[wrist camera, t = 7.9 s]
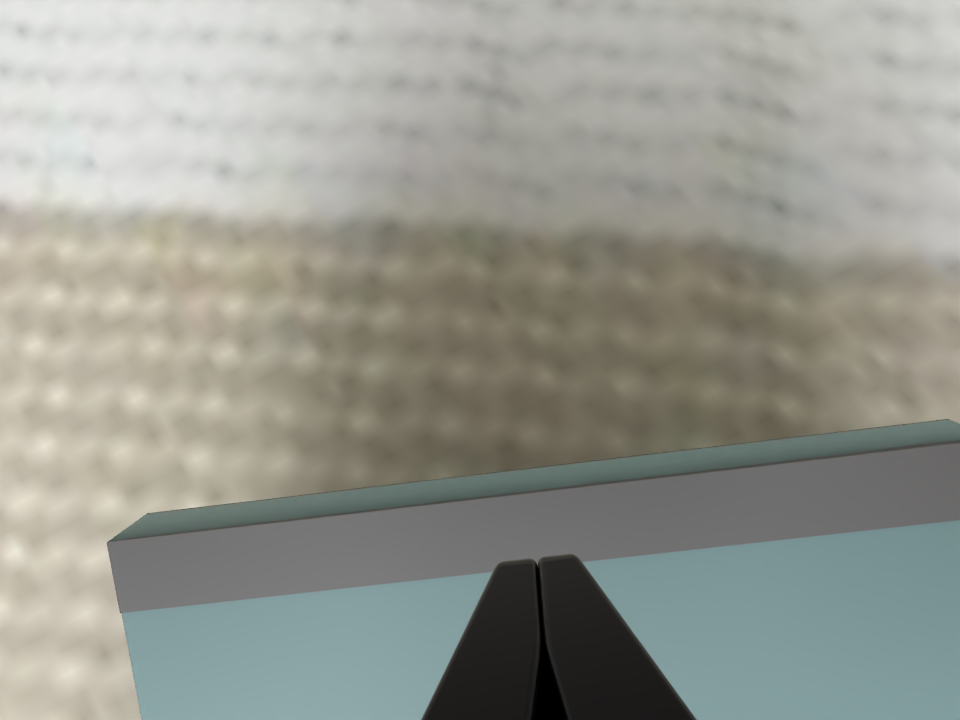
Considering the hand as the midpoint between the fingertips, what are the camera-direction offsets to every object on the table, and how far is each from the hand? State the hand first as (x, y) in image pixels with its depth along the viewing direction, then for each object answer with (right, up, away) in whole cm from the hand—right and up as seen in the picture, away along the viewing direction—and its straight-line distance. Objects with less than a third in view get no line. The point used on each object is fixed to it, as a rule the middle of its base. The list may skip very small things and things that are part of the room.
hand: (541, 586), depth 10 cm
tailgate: (+2, -10, +7) cm, 12 cm away
